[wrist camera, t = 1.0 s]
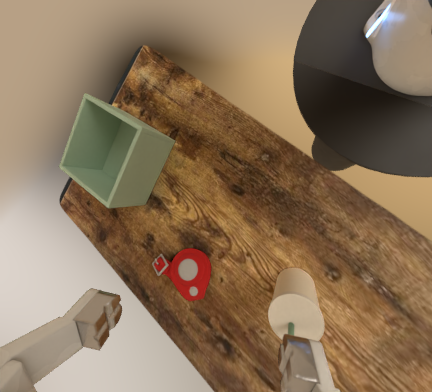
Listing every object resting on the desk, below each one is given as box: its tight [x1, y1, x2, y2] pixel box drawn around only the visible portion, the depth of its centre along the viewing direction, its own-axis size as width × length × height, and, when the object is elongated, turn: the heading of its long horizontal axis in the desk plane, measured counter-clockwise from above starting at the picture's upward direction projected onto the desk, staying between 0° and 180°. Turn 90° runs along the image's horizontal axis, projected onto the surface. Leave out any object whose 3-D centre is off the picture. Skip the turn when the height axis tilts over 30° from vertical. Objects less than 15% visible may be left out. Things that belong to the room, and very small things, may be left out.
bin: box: [59, 93, 175, 208], centre depth 41 cm, size 16×16×10 cm
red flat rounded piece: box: [152, 248, 211, 301], centre depth 40 cm, size 12×4×10 cm
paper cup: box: [268, 268, 324, 341], centre depth 26 cm, size 6×6×16 cm
